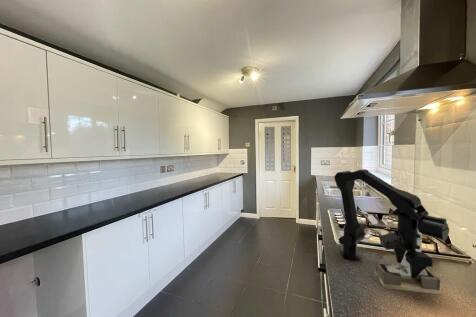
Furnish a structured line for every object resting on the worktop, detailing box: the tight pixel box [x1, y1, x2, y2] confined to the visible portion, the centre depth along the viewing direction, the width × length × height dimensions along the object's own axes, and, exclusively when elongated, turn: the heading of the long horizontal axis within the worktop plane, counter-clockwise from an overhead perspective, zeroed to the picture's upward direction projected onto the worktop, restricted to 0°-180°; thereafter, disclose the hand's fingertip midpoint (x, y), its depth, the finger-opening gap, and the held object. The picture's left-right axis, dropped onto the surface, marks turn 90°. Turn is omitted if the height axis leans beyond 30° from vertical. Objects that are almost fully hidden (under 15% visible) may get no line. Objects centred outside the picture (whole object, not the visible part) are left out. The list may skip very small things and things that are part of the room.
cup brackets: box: [375, 261, 441, 291], centre depth 76 cm, size 8×17×4 cm, turn 77°
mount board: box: [374, 270, 442, 295], centre depth 76 cm, size 8×17×1 cm, turn 77°
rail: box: [384, 264, 428, 280], centre depth 76 cm, size 12×4×4 cm, turn 77°
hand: (405, 269), depth 76 cm, fingers open, 9 cm apart
